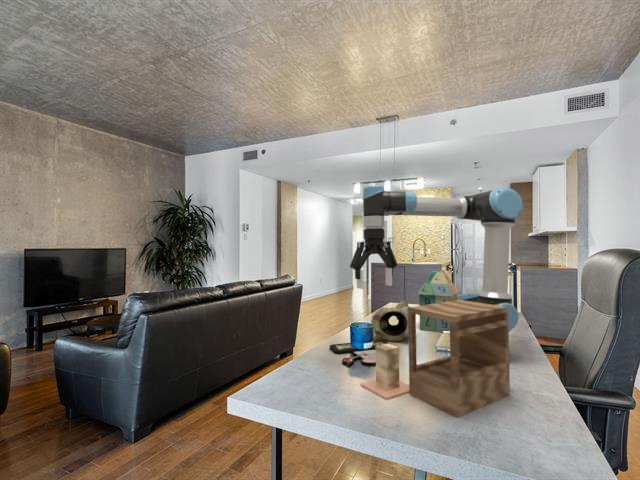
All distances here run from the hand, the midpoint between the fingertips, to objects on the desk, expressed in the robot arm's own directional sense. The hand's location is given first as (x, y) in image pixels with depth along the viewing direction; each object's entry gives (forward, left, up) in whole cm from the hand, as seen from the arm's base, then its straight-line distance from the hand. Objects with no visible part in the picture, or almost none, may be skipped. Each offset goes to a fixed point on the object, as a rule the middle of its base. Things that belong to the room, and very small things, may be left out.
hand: (374, 287), depth 125 cm
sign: (-6, -11, -29) cm, 32 cm away
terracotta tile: (+9, +16, -29) cm, 34 cm away
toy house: (-63, -24, -29) cm, 73 cm away
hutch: (-5, +31, -29) cm, 43 cm away
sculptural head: (-32, -25, -29) cm, 50 cm away
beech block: (+9, +16, -28) cm, 34 cm away
